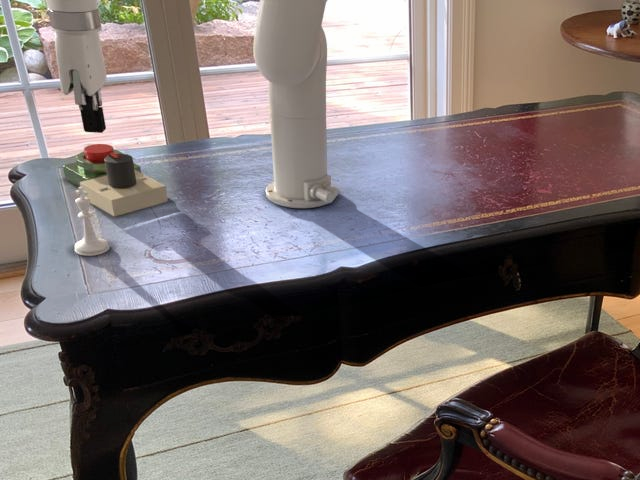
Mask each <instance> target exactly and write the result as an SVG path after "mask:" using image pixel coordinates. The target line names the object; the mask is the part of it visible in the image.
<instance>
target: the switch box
mask: <svg viewBox="0 0 640 480" xmlns="http://www.w3.org/2000/svg"><path fill="white" fill-rule="evenodd" d="M114 153H115V154H124V152H122V151H120V150H118V149H114ZM75 157H76V159H75V160H76V161H75V162H70V163H66V164H62V169H63V174H64V175H63V176H64V179H65V180H66V181H68V182H70V183H72V184H73V185H75V186H77V188H79V187H80V182H82V181H86V180H90V179H95V178H99V177H103V176H107V171H106V166H105V161H97V162H95V161H88V160H86V158H85V153H84V150H83V151H81V152H80V153H78V154H76V156H75ZM133 164H134V170H136V171H138V172H140V173H142V168H141V165H139V164H137V163H135V162H133Z"/></svg>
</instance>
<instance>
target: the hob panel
mask: <svg viewBox="0 0 640 480" xmlns="http://www.w3.org/2000/svg"><path fill="white" fill-rule="evenodd" d="M135 176H136V185H134V186H132V187H129V188H113V187H111V186H110V185H109V182H108V177H107V176H103V177H99V178H95V179H90V180H86V181H82V182H80V187H82V188H83V191H85V192H87V194H88V195H86V196H85V195H84V197H86V198H89V199H90V204H92V205H93V206H95V207H96V208H99V209H100V210H102V211H104V212H106V213H107V214H108V215H110V216H112V217H117V216H121V215H125V214H129V213H132V212H135V211H139V210H142V209H147V208H149V207H153V206H156V205H161V204H164V203H167V202H168V201H169V200H168V193H167V187H166V185H165V184H163V183H162V182H159V181H157V180H156V179H154V178H152V177H150V176H148V175H146V174H144V173H142V172H141V173H140V172H138V171H136V170H135Z"/></svg>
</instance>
